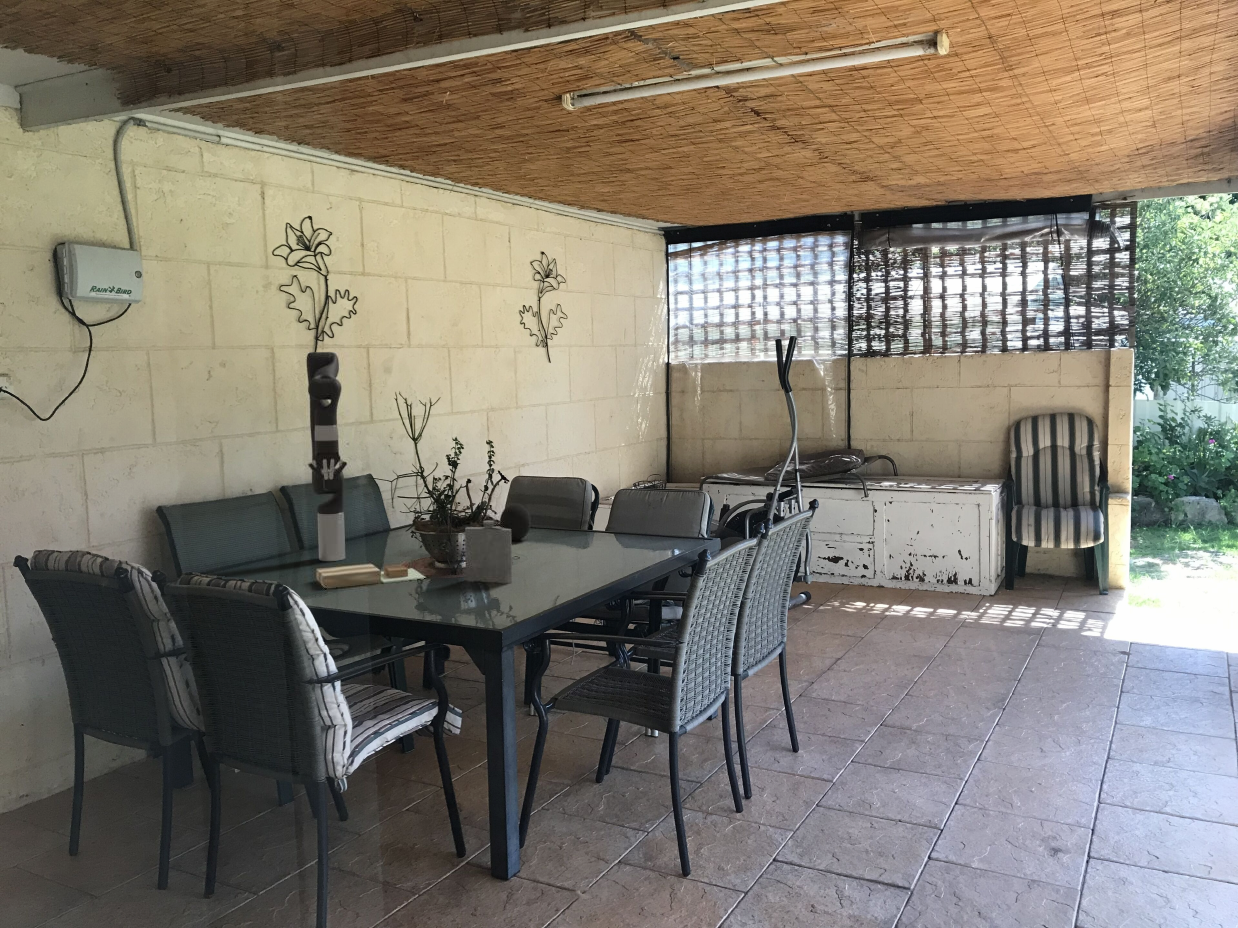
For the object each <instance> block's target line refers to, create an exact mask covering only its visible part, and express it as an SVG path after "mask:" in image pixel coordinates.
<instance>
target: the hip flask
mask: <svg viewBox="0 0 1238 928" xmlns="http://www.w3.org/2000/svg"><path fill="white" fill-rule="evenodd" d="M482 523H483V527H482V526H481V527H480V526H479V527H477V526H476V527H475V526H468V527H467V526H466V527H465V528H464V538H465V540H464V542H465V543H464V545H465V546H464V548H465V549H464V550H465V554H464V555H465V581H466V582H474V581H481V582H483V583H495V582H497V584H498V583H499V584H505V583H508V584H511V583H512V582H513V571H512V570H513V564H512V563H513V562H512V561H513V559H512V554H513V553H512V540H511V529H505V528H501V527H500V526H495V525H494V524H495V521H494V520H483V521H482ZM481 582H480V583H481Z"/></svg>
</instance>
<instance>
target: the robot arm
mask: <svg viewBox="0 0 1238 928" xmlns="http://www.w3.org/2000/svg"><path fill="white" fill-rule="evenodd" d="M339 370H340V363H339V357H338V355H337V354H336V353H335V352H332V351H316V352H315V351H311V352H308V353H307V355H306V375H307V383H308V386H307V393H308V395H309V420H310V421H309V422H310V423H309V425H310V426H309V429H310V438H311V462H308V463H307V466H308V468H310V470H311V487H312V491H313V493H314V494H315V495H320V496H321V495H332V496H331V497H330V498H329V499H328V500H326V501H324V502H322V503H319V504H318V505H317V510H316V511H317V512H316V513H317V533H318V534H317V535H318V536H317V537H318V538H317V539H318V560H319V561H322V562H334V561H335V562H336V561H343V560H345V559H346V542H345V541H346V540H345V539H346V538H345V536H346V535H345V534H346V533H345V514H344V513H345V506H344V505H345V502H344V501H345V499H344V498H345V497H344V493H345V477H344V473H343V470H344V469H345V468H346V466H347V465H348V463H347V462H346V461H344V460H343V459H342V458H341V455H340V451H339V450H340V449H339V446H340V445H339V429H338V417H337V416H338V407H339V406H338V405H339V401H340V399H341V393H342V388H343V387H342V383H341V381H339V380H338V379H337V377H338V376H339V373H340V372H339ZM329 400H330V401H329ZM336 466H338V467H337V468H336Z"/></svg>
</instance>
